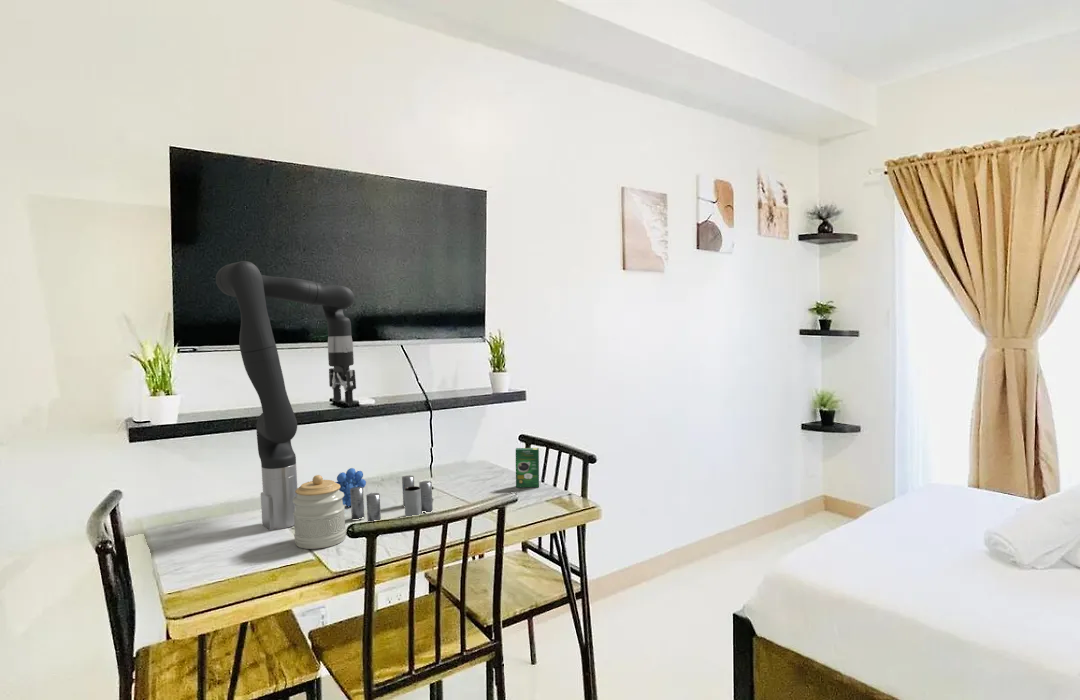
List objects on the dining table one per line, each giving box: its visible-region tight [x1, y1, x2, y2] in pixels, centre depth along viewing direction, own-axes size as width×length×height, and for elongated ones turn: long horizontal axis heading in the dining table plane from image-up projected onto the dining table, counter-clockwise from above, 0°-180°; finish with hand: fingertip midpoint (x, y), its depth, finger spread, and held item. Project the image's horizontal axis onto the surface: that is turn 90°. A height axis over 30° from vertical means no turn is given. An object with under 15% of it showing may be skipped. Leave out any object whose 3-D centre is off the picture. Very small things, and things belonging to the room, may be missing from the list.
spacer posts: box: [350, 474, 434, 522], centre depth 190 cm, size 21×14×9 cm, turn 132°
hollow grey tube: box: [404, 485, 423, 517], centre depth 181 cm, size 4×4×10 cm
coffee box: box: [515, 447, 540, 489], centre depth 216 cm, size 8×3×13 cm, turn 87°
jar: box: [292, 474, 347, 550], centre depth 170 cm, size 13×13×18 cm
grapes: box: [334, 467, 367, 507], centre depth 201 cm, size 12×7×12 cm, turn 131°
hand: (343, 402), depth 203 cm, fingers open, 8 cm apart
